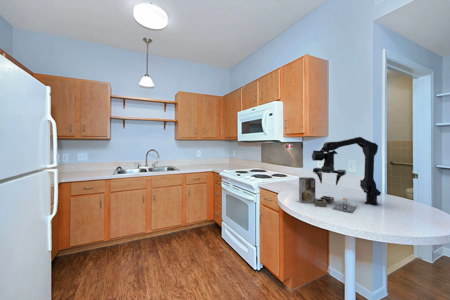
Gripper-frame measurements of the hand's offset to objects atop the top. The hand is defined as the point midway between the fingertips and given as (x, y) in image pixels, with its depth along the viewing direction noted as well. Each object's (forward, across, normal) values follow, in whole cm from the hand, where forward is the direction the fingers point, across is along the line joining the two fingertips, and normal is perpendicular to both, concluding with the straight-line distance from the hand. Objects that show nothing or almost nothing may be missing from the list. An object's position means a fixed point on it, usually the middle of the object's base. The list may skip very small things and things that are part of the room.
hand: (328, 184), depth 128 cm
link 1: (+12, -2, -10) cm, 16 cm away
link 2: (+12, -1, +1) cm, 12 cm away
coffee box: (+12, -11, -8) cm, 19 cm away
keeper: (+12, +11, -6) cm, 18 cm away
